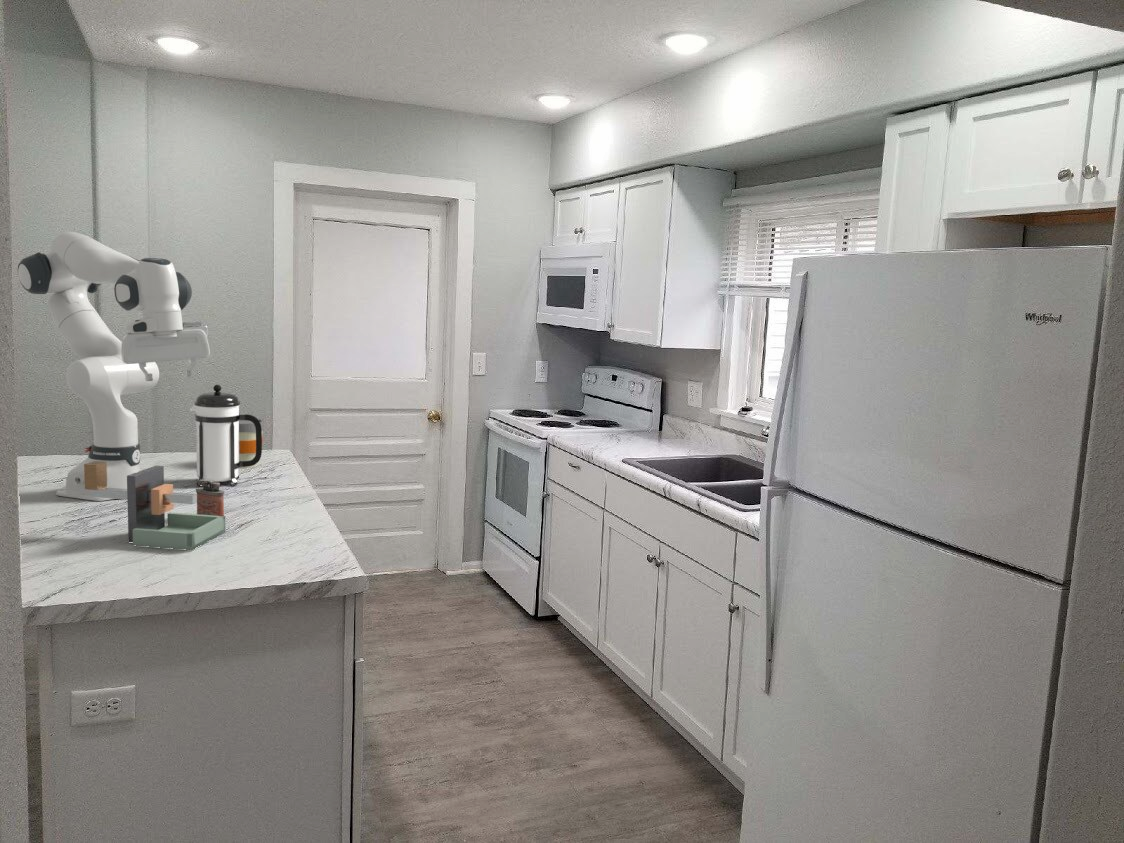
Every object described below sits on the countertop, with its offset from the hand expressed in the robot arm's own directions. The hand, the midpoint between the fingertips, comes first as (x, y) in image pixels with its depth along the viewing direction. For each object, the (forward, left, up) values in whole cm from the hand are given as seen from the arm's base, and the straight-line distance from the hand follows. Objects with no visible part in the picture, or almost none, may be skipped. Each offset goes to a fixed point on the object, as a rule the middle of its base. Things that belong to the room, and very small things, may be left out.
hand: (169, 379), depth 220 cm
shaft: (+2, -17, -27) cm, 32 cm away
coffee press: (-7, +41, -36) cm, 55 cm away
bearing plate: (+3, -17, -36) cm, 40 cm away
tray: (+11, -17, -36) cm, 41 cm away
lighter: (+9, +2, -36) cm, 37 cm away
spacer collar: (+7, -17, -30) cm, 35 cm away
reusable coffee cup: (-12, +66, -36) cm, 77 cm away
